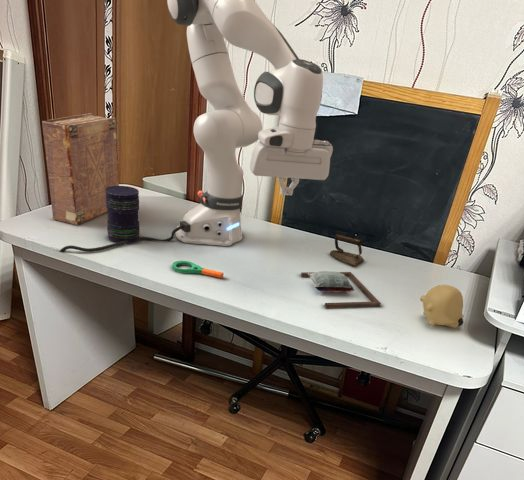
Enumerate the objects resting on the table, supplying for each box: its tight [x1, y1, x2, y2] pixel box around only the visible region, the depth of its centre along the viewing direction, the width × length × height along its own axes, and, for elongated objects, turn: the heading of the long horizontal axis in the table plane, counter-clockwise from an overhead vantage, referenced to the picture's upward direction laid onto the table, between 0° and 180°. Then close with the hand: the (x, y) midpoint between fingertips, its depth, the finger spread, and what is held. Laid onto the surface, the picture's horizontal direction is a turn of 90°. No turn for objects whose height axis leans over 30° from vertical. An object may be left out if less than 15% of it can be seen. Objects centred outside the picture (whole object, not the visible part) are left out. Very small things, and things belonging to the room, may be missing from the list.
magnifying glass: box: [171, 260, 224, 279], centre depth 141 cm, size 15×6×2 cm, turn 71°
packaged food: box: [308, 270, 355, 293], centre depth 141 cm, size 9×12×5 cm
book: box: [41, 112, 120, 226], centre depth 165 cm, size 25×9×30 cm, turn 162°
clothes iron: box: [329, 233, 365, 268], centre depth 161 cm, size 7×11×10 cm, turn 57°
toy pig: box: [419, 284, 464, 328], centre depth 130 cm, size 10×12×11 cm
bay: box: [300, 271, 382, 309], centre depth 142 cm, size 16×20×1 cm
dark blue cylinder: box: [105, 185, 141, 245], centre depth 153 cm, size 10×10×15 cm
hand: (285, 194), depth 128 cm, fingers closed
